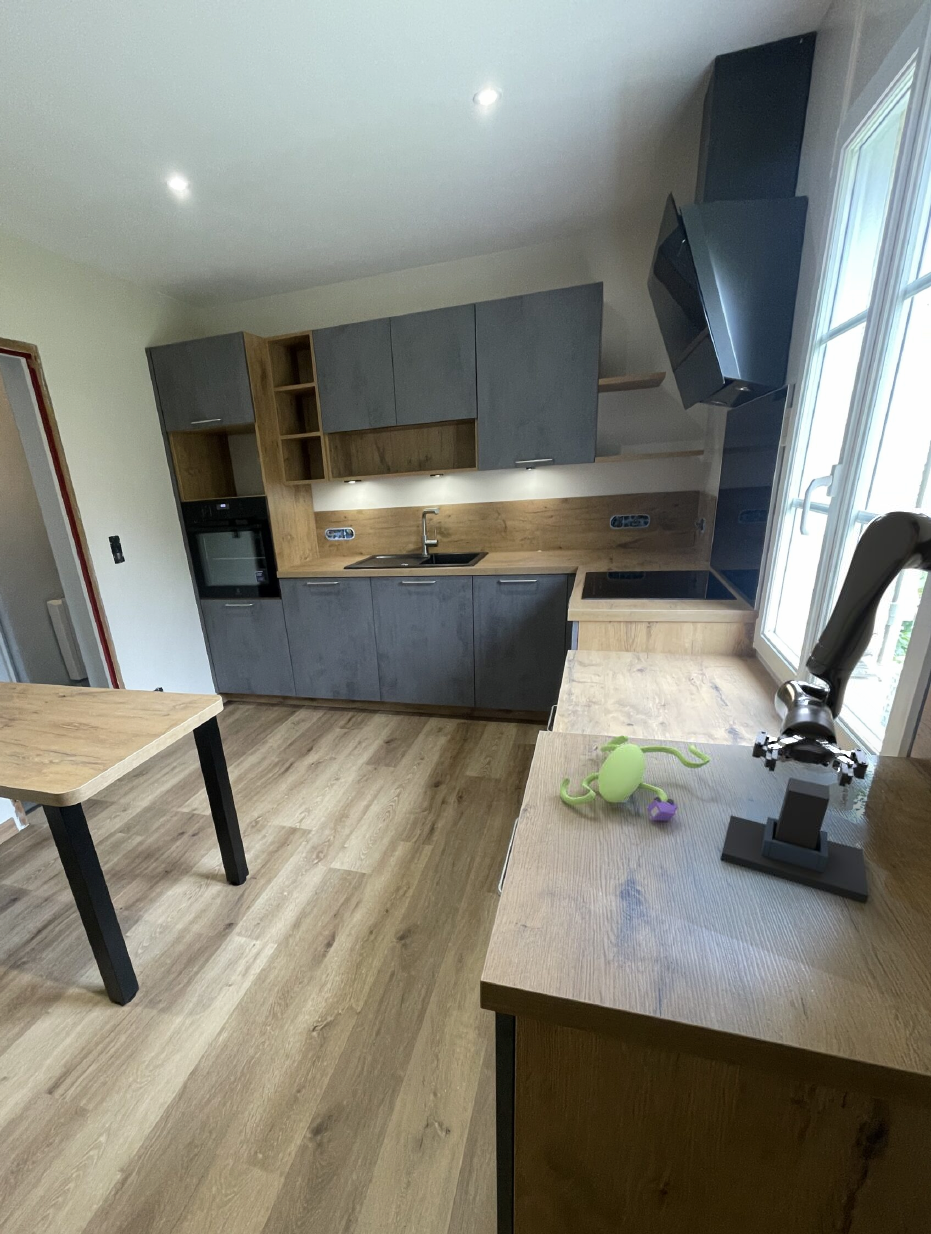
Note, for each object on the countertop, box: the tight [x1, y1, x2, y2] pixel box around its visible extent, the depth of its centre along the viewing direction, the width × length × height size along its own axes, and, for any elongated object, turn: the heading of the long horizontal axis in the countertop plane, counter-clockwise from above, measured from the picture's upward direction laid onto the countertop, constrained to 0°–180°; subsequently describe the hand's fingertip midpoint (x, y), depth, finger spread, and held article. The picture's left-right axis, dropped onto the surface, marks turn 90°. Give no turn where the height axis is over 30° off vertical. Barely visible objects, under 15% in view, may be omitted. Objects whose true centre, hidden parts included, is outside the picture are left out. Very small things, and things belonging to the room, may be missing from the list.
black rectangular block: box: [773, 777, 830, 850], centre depth 75 cm, size 4×4×10 cm
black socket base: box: [720, 814, 869, 904], centre depth 76 cm, size 16×11×4 cm
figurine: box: [559, 735, 711, 822], centre depth 95 cm, size 18×27×6 cm
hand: (807, 773), depth 80 cm, fingers open, 8 cm apart
